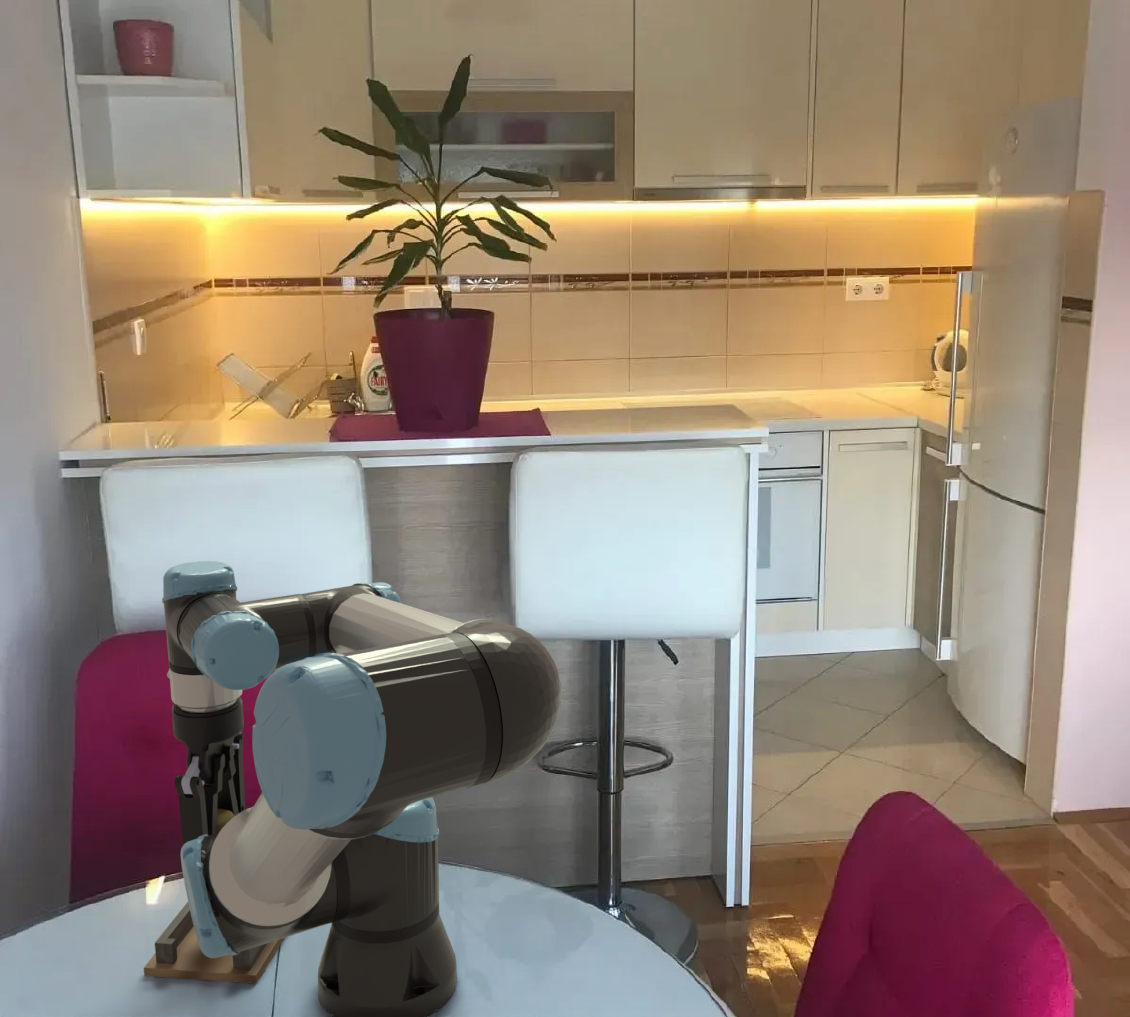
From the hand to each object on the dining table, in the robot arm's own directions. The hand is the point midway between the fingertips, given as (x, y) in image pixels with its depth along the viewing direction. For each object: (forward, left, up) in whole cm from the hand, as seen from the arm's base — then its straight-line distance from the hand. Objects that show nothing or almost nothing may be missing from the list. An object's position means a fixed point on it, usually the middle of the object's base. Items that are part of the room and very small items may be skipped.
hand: (219, 890), depth 130 cm
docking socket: (0, 0, -7) cm, 7 cm away
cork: (0, 0, -2) cm, 2 cm away
